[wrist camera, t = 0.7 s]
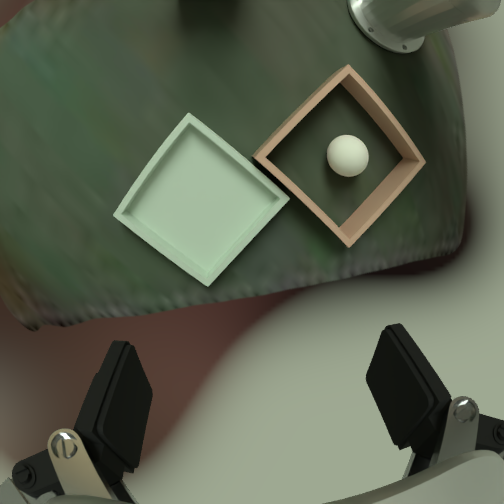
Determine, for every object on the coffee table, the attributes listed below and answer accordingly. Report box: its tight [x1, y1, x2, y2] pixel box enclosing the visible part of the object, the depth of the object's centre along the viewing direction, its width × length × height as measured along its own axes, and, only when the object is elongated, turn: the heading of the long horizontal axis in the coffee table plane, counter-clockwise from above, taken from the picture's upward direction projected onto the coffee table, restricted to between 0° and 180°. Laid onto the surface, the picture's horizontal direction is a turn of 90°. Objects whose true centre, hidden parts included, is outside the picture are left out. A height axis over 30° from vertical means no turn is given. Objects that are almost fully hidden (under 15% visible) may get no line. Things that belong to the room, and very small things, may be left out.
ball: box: [327, 135, 369, 177], centre depth 29 cm, size 5×5×5 cm
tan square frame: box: [252, 64, 426, 247], centre depth 29 cm, size 16×16×4 cm
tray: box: [113, 113, 290, 287], centre depth 31 cm, size 15×15×2 cm
